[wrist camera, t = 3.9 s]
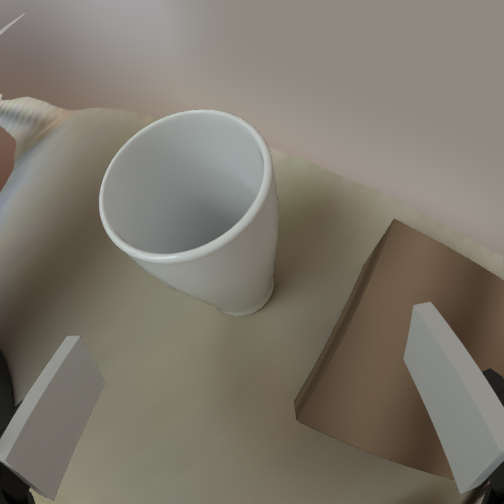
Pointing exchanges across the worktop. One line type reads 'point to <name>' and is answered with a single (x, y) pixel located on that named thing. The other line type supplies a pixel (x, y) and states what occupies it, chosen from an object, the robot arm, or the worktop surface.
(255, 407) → the worktop surface
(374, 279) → the walnut stand
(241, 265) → the white tumbler
